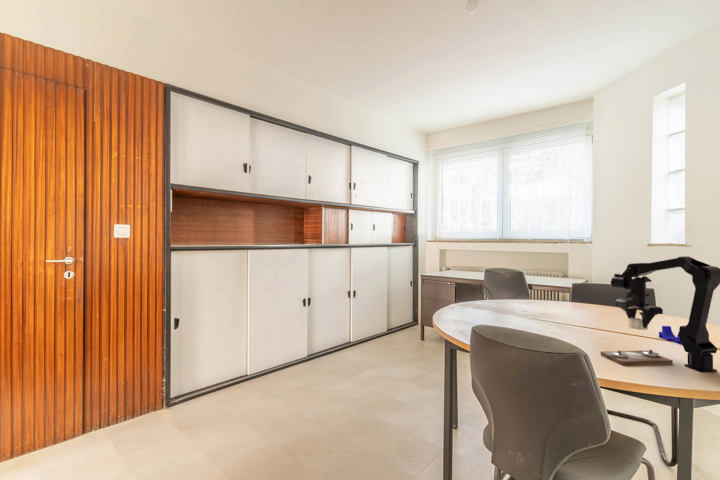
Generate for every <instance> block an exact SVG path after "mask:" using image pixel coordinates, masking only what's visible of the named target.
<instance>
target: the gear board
mask: <svg viewBox="0 0 720 480" xmlns="http://www.w3.org/2000/svg"><path fill="white" fill-rule="evenodd" d="M620 351H621V352H622V353H625V354H627V358H617V357H614V356H612V353H611V352H618V350H609V351H605V350H604V351H603V350H602V351H600V356H602V357H604V358H606V359H609V360H611V361H613V362H615V363H617V364H619V365H622V366H650V365H651V366H652V365H653V366H656V365H657V366H658V365H673V364H674V363H673V362H674V361H673V360H672V359H669V358H667V357H664V356H661V355H659V357H658V358H653V357H648V356H644V355H643V351H647V350H620Z"/></svg>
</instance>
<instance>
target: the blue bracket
mask: <svg viewBox="0 0 720 480" xmlns="http://www.w3.org/2000/svg"><path fill="white" fill-rule="evenodd" d="M678 334H679V331H678ZM678 334H677V335H678ZM658 338H660V339H662V340H664V341H668V342H673V343H676V344H678V345H681V346H683V345H682V343H681V342H680V341H679V336H675V334H674V333H673V330H672V326H670V325H661V331H658Z"/></svg>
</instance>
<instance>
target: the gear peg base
mask: <svg viewBox="0 0 720 480" xmlns="http://www.w3.org/2000/svg"><path fill="white" fill-rule="evenodd" d="M617 351H618V352H611V353H612V356H614V357H617V358H627V354H625V353H622V352H621V351H622V350H617ZM642 351H643V350H642ZM643 355H644V356H648V357H653V358H658V357H659V356H660V353H659V352H655V351H653V350H652V349H648V350H646V351H643Z"/></svg>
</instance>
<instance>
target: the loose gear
mask: <svg viewBox="0 0 720 480" xmlns="http://www.w3.org/2000/svg"><path fill="white" fill-rule="evenodd" d="M628 327H629V328H630V329H633V330H637V331H638V330H639V331H640V330H641V331H646V330H648V327H649V325H648V326H647V327H646V328H643V323H642V317H635V318H629V319H628Z"/></svg>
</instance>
